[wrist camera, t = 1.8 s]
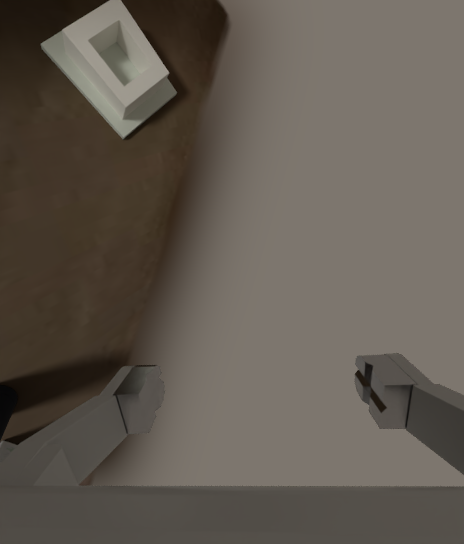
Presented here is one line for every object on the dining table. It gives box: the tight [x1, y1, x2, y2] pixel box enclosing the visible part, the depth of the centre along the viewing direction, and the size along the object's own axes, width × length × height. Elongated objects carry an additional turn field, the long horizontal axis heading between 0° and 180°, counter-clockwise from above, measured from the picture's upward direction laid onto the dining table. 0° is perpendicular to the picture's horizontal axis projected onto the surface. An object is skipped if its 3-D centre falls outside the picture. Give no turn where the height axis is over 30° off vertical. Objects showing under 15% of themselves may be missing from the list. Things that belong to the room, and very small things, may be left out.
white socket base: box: [41, 0, 177, 139], centre depth 34 cm, size 14×14×6 cm
